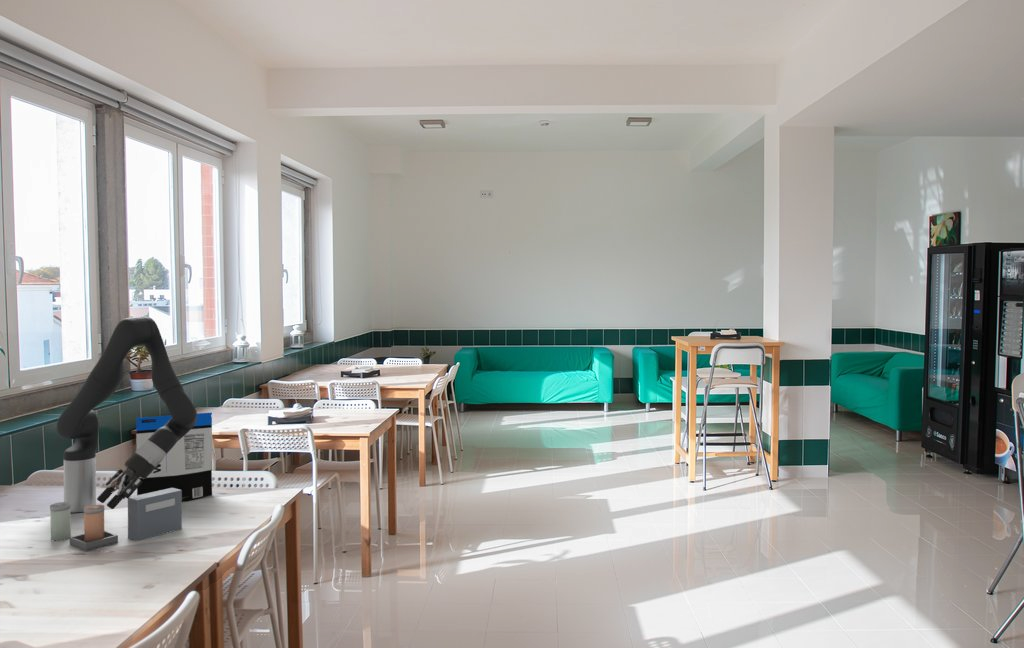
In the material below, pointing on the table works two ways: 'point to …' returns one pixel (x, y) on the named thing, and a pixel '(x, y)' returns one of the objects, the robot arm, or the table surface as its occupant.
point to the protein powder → (180, 459)
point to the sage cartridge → (60, 521)
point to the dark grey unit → (154, 513)
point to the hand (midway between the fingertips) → (104, 504)
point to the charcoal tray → (79, 541)
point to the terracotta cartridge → (93, 523)
